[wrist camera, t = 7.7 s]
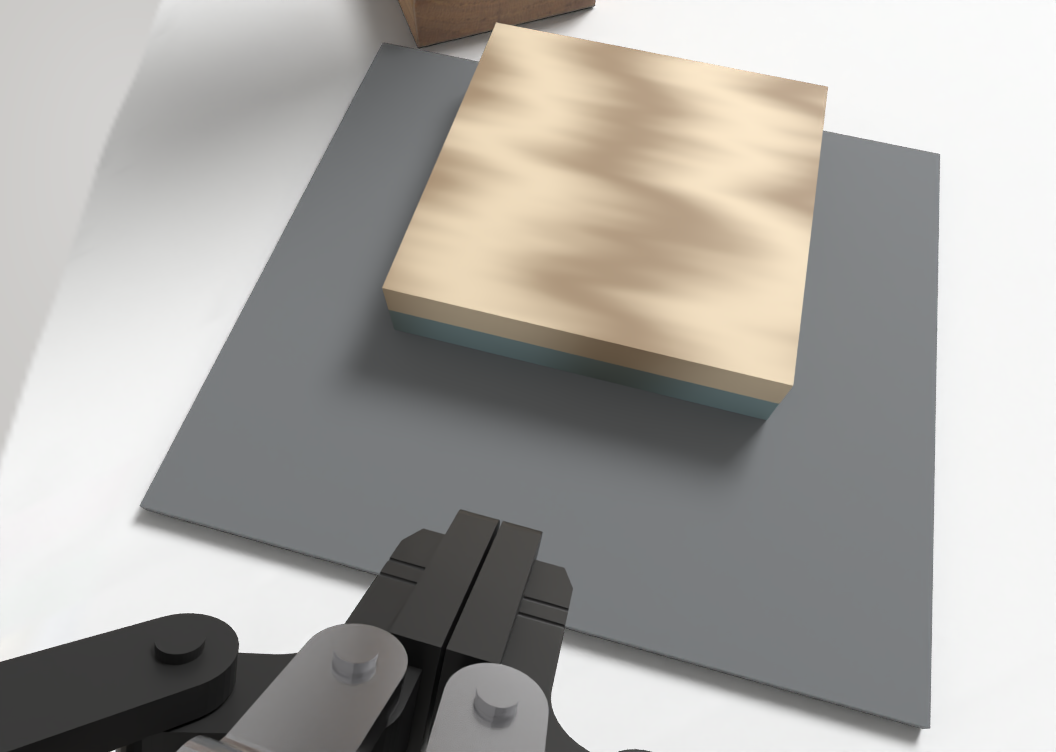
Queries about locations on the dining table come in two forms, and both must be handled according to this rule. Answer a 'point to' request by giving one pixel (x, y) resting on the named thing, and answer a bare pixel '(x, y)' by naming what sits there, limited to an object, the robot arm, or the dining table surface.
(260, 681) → the robot arm
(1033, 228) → the dining table surface
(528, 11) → the bird figurine
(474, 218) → the board
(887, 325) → the mat
